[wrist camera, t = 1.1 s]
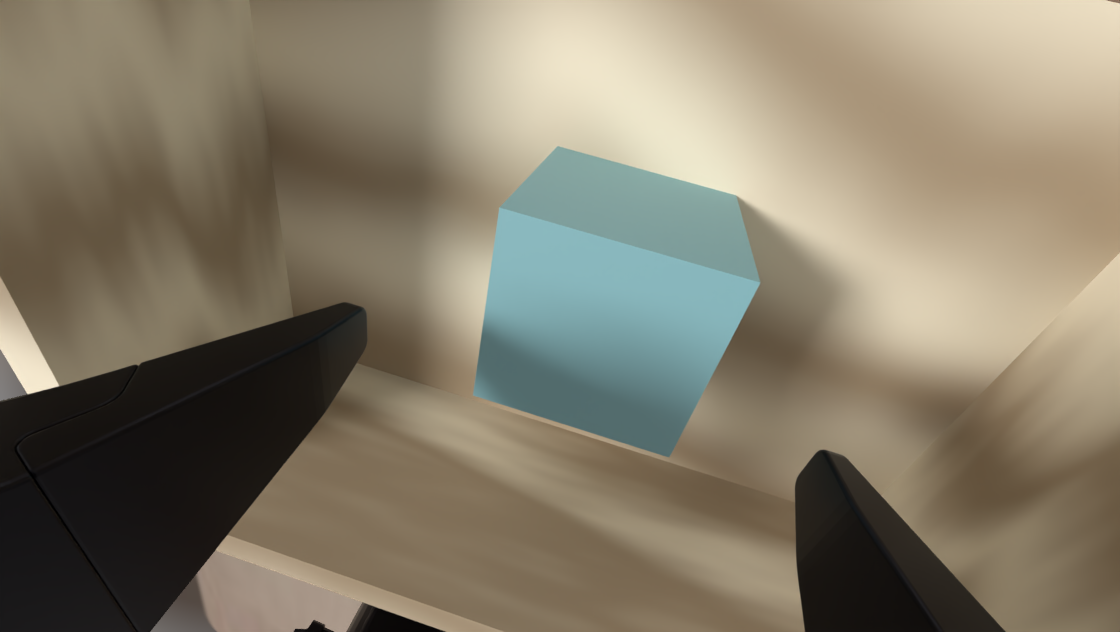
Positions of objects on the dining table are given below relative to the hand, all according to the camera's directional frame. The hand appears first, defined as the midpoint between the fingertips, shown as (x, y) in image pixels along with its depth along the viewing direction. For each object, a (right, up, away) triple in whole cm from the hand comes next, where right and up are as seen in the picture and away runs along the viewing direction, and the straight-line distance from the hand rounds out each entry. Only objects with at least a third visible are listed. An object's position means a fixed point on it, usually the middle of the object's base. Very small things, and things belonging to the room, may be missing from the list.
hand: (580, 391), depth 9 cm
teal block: (+1, +3, +5) cm, 6 cm away
